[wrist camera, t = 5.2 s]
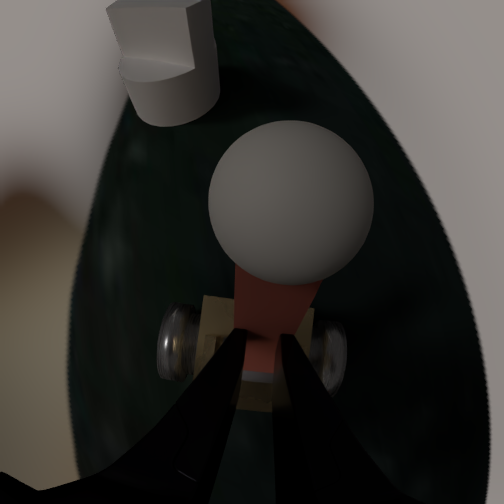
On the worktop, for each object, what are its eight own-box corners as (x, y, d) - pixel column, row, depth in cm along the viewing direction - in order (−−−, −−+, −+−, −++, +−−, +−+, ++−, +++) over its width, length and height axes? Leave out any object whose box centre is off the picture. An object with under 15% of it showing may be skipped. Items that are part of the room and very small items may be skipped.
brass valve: (317, 395, 18) (353, 427, 11) (174, 378, 18) (136, 403, 11) (327, 315, 20) (369, 308, 13) (184, 298, 20) (151, 282, 13)
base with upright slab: (119, 115, 24) (77, 28, 13) (169, 64, 27) (150, -19, 15) (188, 137, 24) (160, 27, 12) (236, 80, 26) (233, -17, 14)
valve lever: (279, 397, 13) (425, 212, 3) (218, 390, 13) (178, 175, 3) (282, 342, 14) (372, 113, 5) (226, 336, 15) (225, 90, 5)
